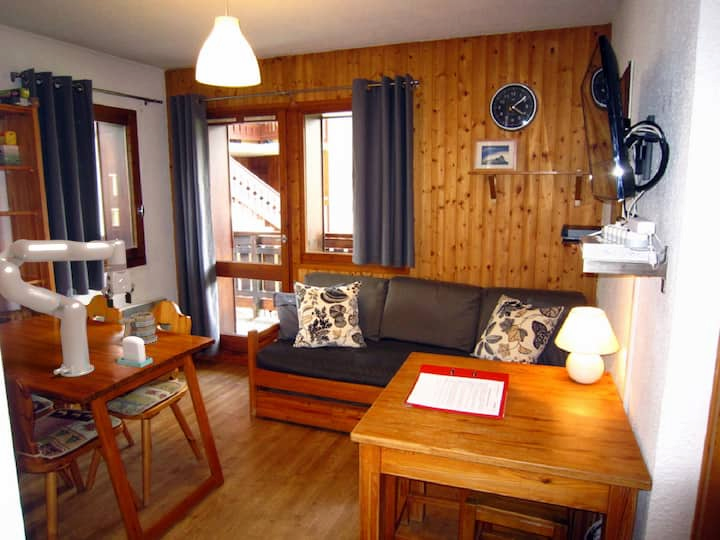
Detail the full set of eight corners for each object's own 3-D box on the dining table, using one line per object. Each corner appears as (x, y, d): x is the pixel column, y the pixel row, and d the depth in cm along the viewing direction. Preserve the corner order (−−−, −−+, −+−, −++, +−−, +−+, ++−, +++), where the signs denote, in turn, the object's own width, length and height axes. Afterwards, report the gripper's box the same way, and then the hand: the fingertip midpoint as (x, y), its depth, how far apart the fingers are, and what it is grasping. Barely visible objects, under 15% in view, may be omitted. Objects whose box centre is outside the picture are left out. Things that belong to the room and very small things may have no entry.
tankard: (145, 336, 268) (143, 308, 266) (162, 339, 262) (160, 311, 260) (111, 347, 251) (109, 317, 249) (128, 350, 245) (126, 320, 243)
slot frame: (141, 367, 223) (140, 363, 222) (117, 364, 227) (117, 359, 227) (152, 362, 229) (152, 358, 229) (129, 359, 233) (129, 354, 233)
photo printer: (122, 363, 228) (120, 336, 226) (130, 360, 232) (127, 334, 230) (140, 366, 224) (138, 339, 222) (147, 363, 228) (145, 336, 226)
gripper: (106, 271, 217) (109, 310, 220) (139, 265, 233) (141, 302, 235) (94, 269, 220) (97, 308, 223) (127, 264, 236) (129, 300, 238)
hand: (119, 305), depth 229 cm, fingers open, 9 cm apart
